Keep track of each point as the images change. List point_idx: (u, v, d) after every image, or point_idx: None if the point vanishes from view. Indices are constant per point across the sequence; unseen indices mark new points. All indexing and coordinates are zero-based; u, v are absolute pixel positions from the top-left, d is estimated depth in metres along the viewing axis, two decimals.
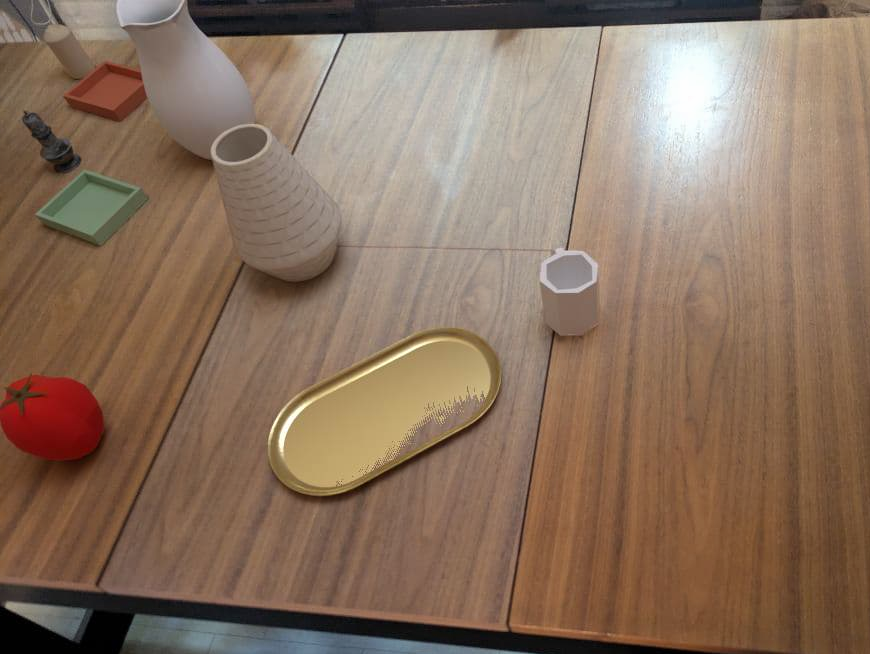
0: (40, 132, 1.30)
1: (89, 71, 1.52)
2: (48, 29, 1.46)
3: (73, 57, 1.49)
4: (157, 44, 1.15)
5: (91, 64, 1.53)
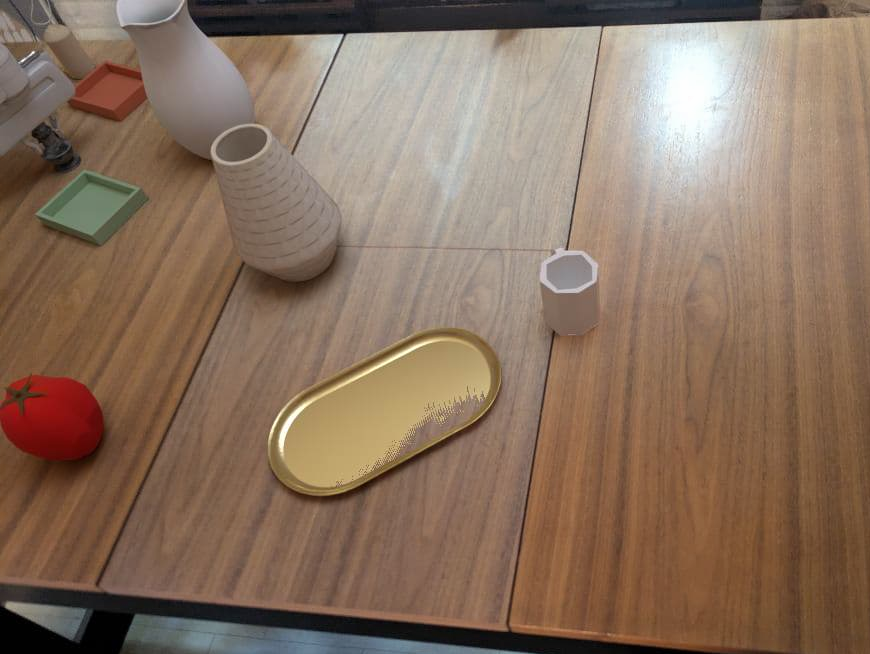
0: (40, 132, 1.30)
1: (89, 71, 1.52)
2: (48, 29, 1.46)
3: (73, 57, 1.49)
4: (157, 44, 1.15)
5: (91, 64, 1.53)
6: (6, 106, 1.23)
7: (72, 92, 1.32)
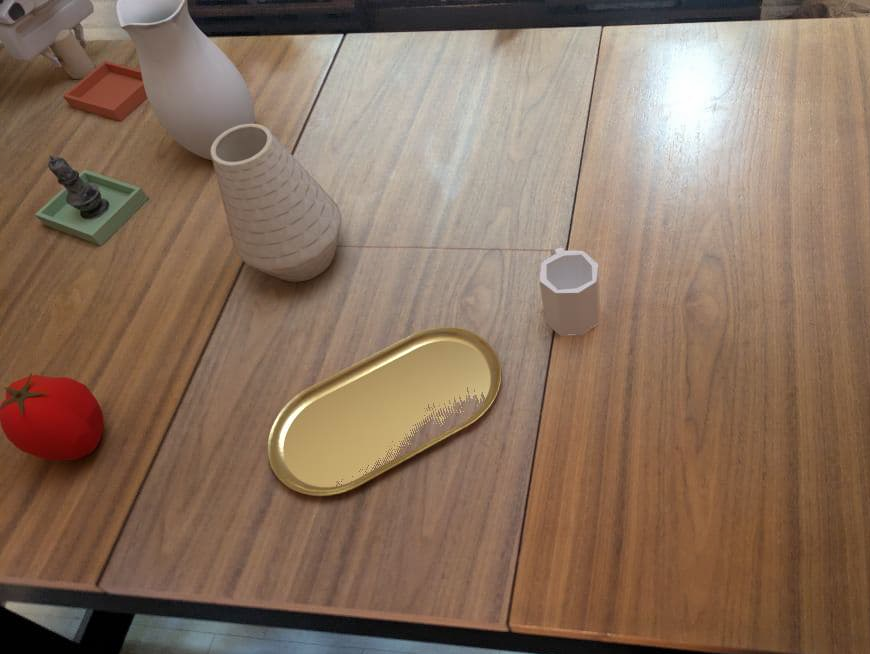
0: (67, 178, 1.22)
1: (89, 71, 1.52)
2: None
3: (73, 58, 1.49)
4: (157, 44, 1.15)
5: (91, 64, 1.53)
6: (34, 16, 1.40)
7: (90, 9, 1.49)
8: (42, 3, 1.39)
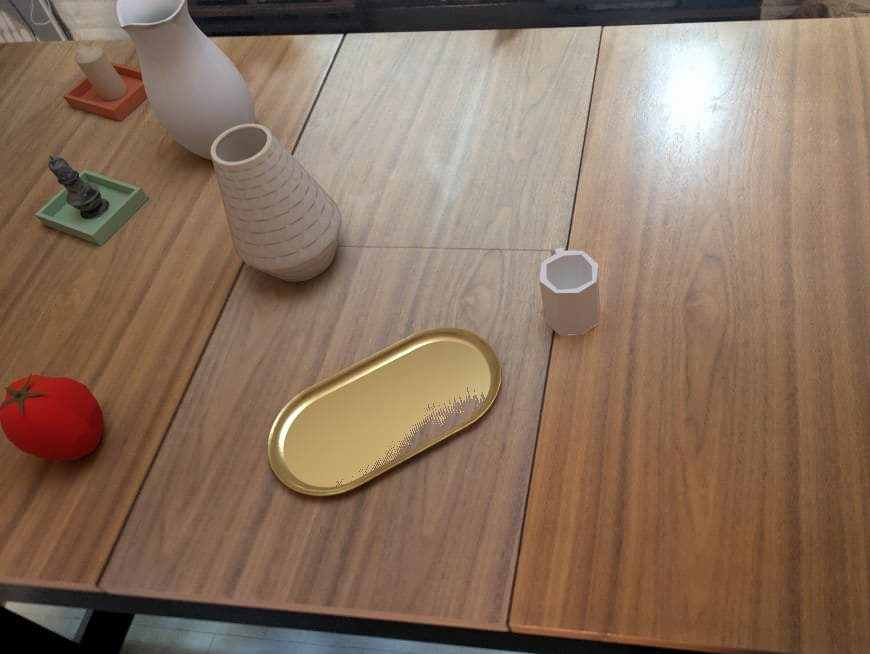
0: (67, 178, 1.22)
1: (121, 93, 1.46)
2: (80, 50, 1.40)
3: (105, 79, 1.42)
4: (157, 44, 1.15)
5: (123, 85, 1.46)
6: None
7: None
8: None
